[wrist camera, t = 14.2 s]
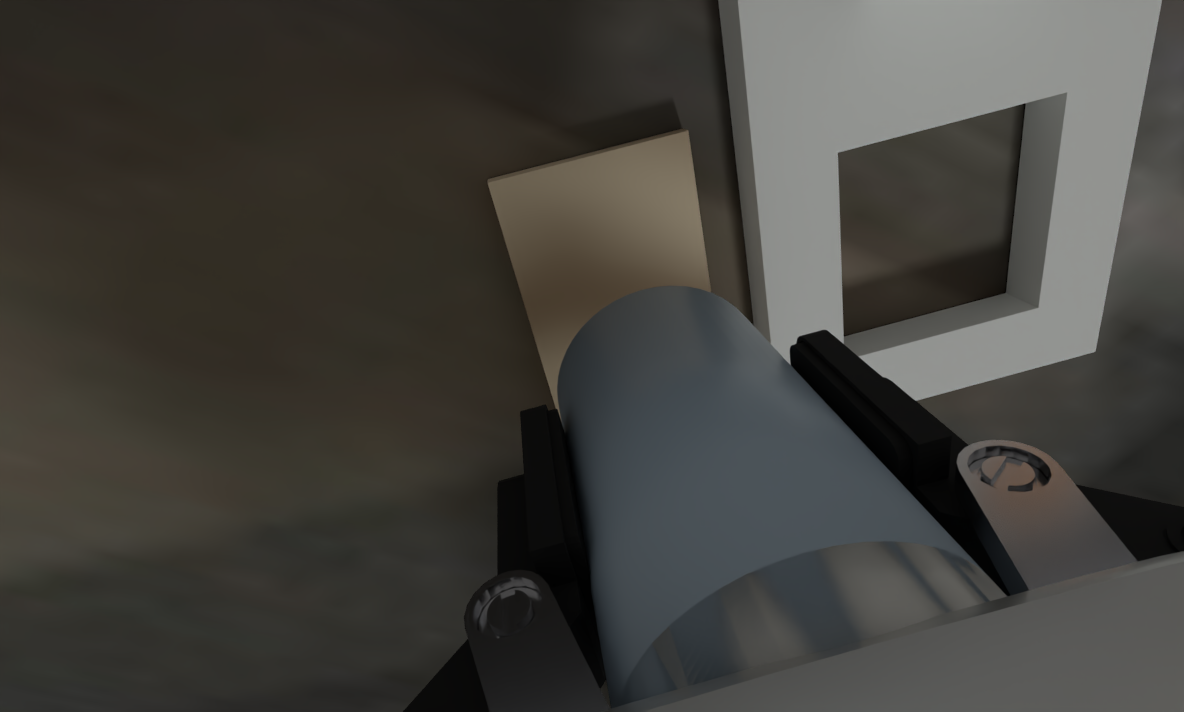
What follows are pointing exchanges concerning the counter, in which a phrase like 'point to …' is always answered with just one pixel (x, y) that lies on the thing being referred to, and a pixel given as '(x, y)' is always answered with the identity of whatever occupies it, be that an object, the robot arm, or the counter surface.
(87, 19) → the counter surface
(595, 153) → the pad
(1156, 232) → the counter surface
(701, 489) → the cylinder
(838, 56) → the dock
